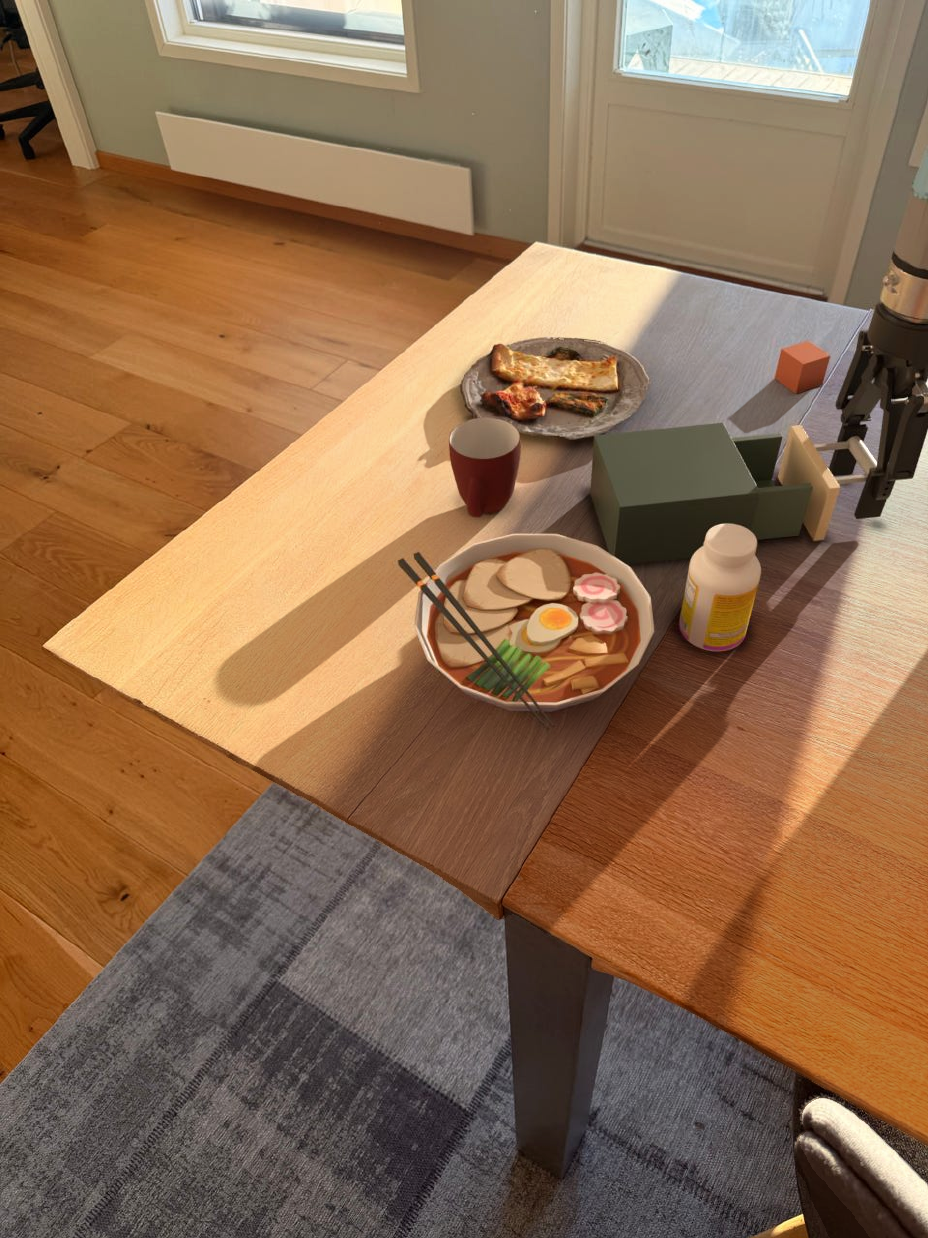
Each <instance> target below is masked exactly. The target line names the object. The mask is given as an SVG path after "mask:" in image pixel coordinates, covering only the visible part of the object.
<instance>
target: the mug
mask: <svg viewBox="0 0 928 1238" xmlns="http://www.w3.org/2000/svg"><path fill="white" fill-rule="evenodd" d="M520 433H521V432H519V431H518V430H517V428H516V427H515V426H513V425H512V424H511V423H509V422H507V421H504V420H501V419H497V418H489V417H484V418H476V417H475V418H471V419H468V420H465V421H462V422H461V423H459V424H458V425H456V426H455V427H454V428H453V429H452V430H451V432H450V433H449V436H448V455H449V461H450V465H451V469H452V474H453V476H454V480H455V484H456V488H457V491H458V494H459V496H460V498H461V500H462V501H463V503H464V504H465V505H466V507H467V513H468V515H469V516H470V517H471V518H481V517H483V515H490V514H495V513H499V512H500V511H501V510H503V509H504V508H505V507H506V506H507V505H508V503H509V501H510V500H511V498H512V496H513V494H514V491H515V487H516V482H517V476H518V472H519V469H520V463H521V453H522V452H521V451H522V450H521V449H522V448H521V434H520Z"/></svg>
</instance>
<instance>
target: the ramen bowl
mask: <svg viewBox="0 0 928 1238" xmlns="http://www.w3.org/2000/svg"><path fill="white" fill-rule="evenodd" d="M413 559H414V560H415V562H416V563H417V564H418V565H419V566H420V568H421V570H423V571H424V573H425V574H426V575H427V576H428V577H429V578H428V579H427V580H426V582H424V581H423V580H422V578H421V576H419V575H418V574H417V572H416V571H415V569H413V568H412V566H411V565H409V563H408V562H407V560H405V558H404V557H402V558H400V559H398V560H397V565H398V566H399V567H400V569H401V570H402V571H403V572H404V573H405V574H406V575H407V576H408V577H409V578H410V580H411V581H412V582H413V583H414V584H415V585H416V586H417V587H418V588H419V589H420V590H419V592H418V594H417V599H416V610H415V614H414V623H413V628H414V630H415V633H416V636H417V638H418V640H419V643H420V646H421V648H422V650H423V653H424V655H425V658H426V660H427V661H428V662H429V663H430V664H431V665H432V666H433V667H434V668H435V669H436V670H437V671H438V672H440V673H441V674H442V675H443V676H444V677H445V678H447V679H448V680H449V681H450V682H451V683H452V684H454V685H455V686H456V687H457V688H459V690H460V691H462V692H463V693H464V694H466V695H468V696H470V697H472V698H475V699H477V700H479V701H483V702H485V703H488V704H491V705H493V706H496V707H499V708H501V709H504V710H507V711H510V712H531V713H532V714H533V716H534V717H536V719H537V720H538V721H539V722H540V723H541V724H542V725H543V726H544V728H545V729H546V730H550V727H549V726H548V725H547V724H546V723H545V721H543V720H542V718H541V717H540V716H539V715H538V714H537V712H540V713H541V714H542V716H543V717H544V718H545V719H546V720H547V721H548V723H549V724H550V725H551V726H552V728H554V727H555V724H554V723H553V722H552V720H551V719H550V718H549V717H548V715H547V714H546V713H545V712H551V713H552V712H555V711H559V710H562V709H565V708H569V707H573V706H577V705H579V704H583V703H586V702H589V701H592V700H595V699H597V698H599V697H600V696H601V695H603V694H604V693H605V692H607V691H608V690H609V689H610V688H612V687H613V686H615V684H616V683H618V682H619V681H620V680H622V679H623V678H624V677H626V676H627V675H628V674H629V673H631V671H633V670H634V669H635V668H636V667H637V666H639V663H640V662H641V659H642V657H643V655H644V653H645V652H646V650H647V648H648V645H649V643H650V641H651V639H652V637H653V635H654V633H655V624H654V615H653V607H652V598H651V595H650V594H649V592H648V590H647V589H646V588H645V586H644V585H643V583H642V582H641V580H640V578H638V576H637V574H636V573H635V572H634V570H633V568H632V567H631V566H629V564H627V565H626V564H625V563H623V562H622V561H620V560H619V559H617V558H616V557H614V556H613V555H611V554H610V553H609V551H606V550H605V549H603V548H602V547H600V546H598V545H596V544H593V543H591V542H587V541H583V540H579V539H576V538H574V537H573V538H572V537H569V536H565V535H562V534H559V533H511V534H506V535H503V536H502V535H501V536H498V537H495V538H490V539H486V540H482V541H479V542H474V543H471V544H470V545H469V546H467V547H466V548H464V549H462V550H461V551H459V552H457V553H456V554H454V555H453V556H451V557H449V558H448V559H446V560H444V561H443V562H441V563H440V564H439V565H438V566H437V568H435V570H434V569H433V568H432V567H431V565H430V564H429V562H428V561H427V560H426V558H424V556H423V555H422V554H421V553H420V551H416V552H414V553H413Z"/></svg>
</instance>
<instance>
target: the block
mask: <svg viewBox="0 0 928 1238" xmlns="http://www.w3.org/2000/svg"><path fill="white" fill-rule="evenodd" d="M830 359H831V355H830V354H829V353H827V352H826V351H824V350H823V349H821V348H820V347H818V346H817V345H816V344H815V343H813V342H811V341H810V340H806V341H803V342H799V343H795V344H793V345H789V346H786V347H783V348H781V349H780V353H779V357H778V361H777V365H776V370H775V375H774V379H775V380H776V381H778V382H779V383H780V384H782V385H783V386H784V387H785V388H787V389H788V390H789V391H791V392H792V393H793V394H795V395H797V394H800V393H803V392H807V391H809V390H812V389H816V388H818V387H821V386H823V384H824V381H825V378H826V377H825V376H826V374H827V369H828V366H829V363H830Z"/></svg>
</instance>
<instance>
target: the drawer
mask: <svg viewBox="0 0 928 1238" xmlns="http://www.w3.org/2000/svg"><path fill="white" fill-rule="evenodd" d="M731 438H732V440H733V442H734V444H735V446H736V448H737V450H738V451H739V453H740V455H741V457H742V459H743V461H744V463H745V465H746V466H747V468H748V470H749V472H750V474H751V476H752V478H753V480H754V482H755V483H756V485H757V487H758V489H759V491H760V497H759V501H758V505H757V509H756V513H755V517H754V521H753V525H752V529H751V532H752V533H753V534H754V535H755V537H756V539H757V541H760V540H770V539H780V538H789V537H798V536H800V533H801V529H802V526H803V525H804V528H806V530H807V532H808V534H809V536H810V537H811V539H812V541H813V542H815V541H824V540H825V537H826V534H827V531H828V528H829V525H830V522H831V519H832V516H833V513H834V509H835V508H836V507H835V506H836V502H837V500H838V497H839V494H840V491H841V486H840V485H846V484H854V483H865V482H866V479H867V477H868V474H869V469H870V468H873V467H876V466H877V460H876V459H875V457H874V456H873V454H872V453H871V451H870V450H869V448H868V447H867V446H866V444H865V443H864V442H863V441H862V440H861V439H860V437H858V436H853V437H851V438H849V439H848V441H847V442H837V441H836V442H828V443H818V444H814V443H813V442H812V440H811V438H810V437H809V436H808V434H807V432H806V430H805V429H804V428H803V426H802V424H795V425H790V428H789V432H788V435H787V440H786V443H785V447H784V451H783V455H782V459H781V463H780V467H779V471H778V475H777V479H778V481H779V482H780V484H781V485H777V486H776V484H775V482H774V480H773V477H774V473H775V469H776V466H777V461H778V457H779V453H780V449H781V445H782V441H783V438H784V437H783V435H782V433H781V432H778V433H777V432H776V433H767V434H758V435H749V436H748V435H746V436H739V437H731ZM847 448H848V449H849V450H850V452H851V453H852V455H853V456H854V458H855V459H856V461H857V462H856V463H858V465H859V466H860V468H861V469H862V471H863V473H862V474H852V475H841V476H833V475H832V473H831V472H830V470H829V466H828V465H827V464H826V462H825V461H824V459H823V457H822V456H821V454H820V452H827V451H834V450H837V449H847Z"/></svg>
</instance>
